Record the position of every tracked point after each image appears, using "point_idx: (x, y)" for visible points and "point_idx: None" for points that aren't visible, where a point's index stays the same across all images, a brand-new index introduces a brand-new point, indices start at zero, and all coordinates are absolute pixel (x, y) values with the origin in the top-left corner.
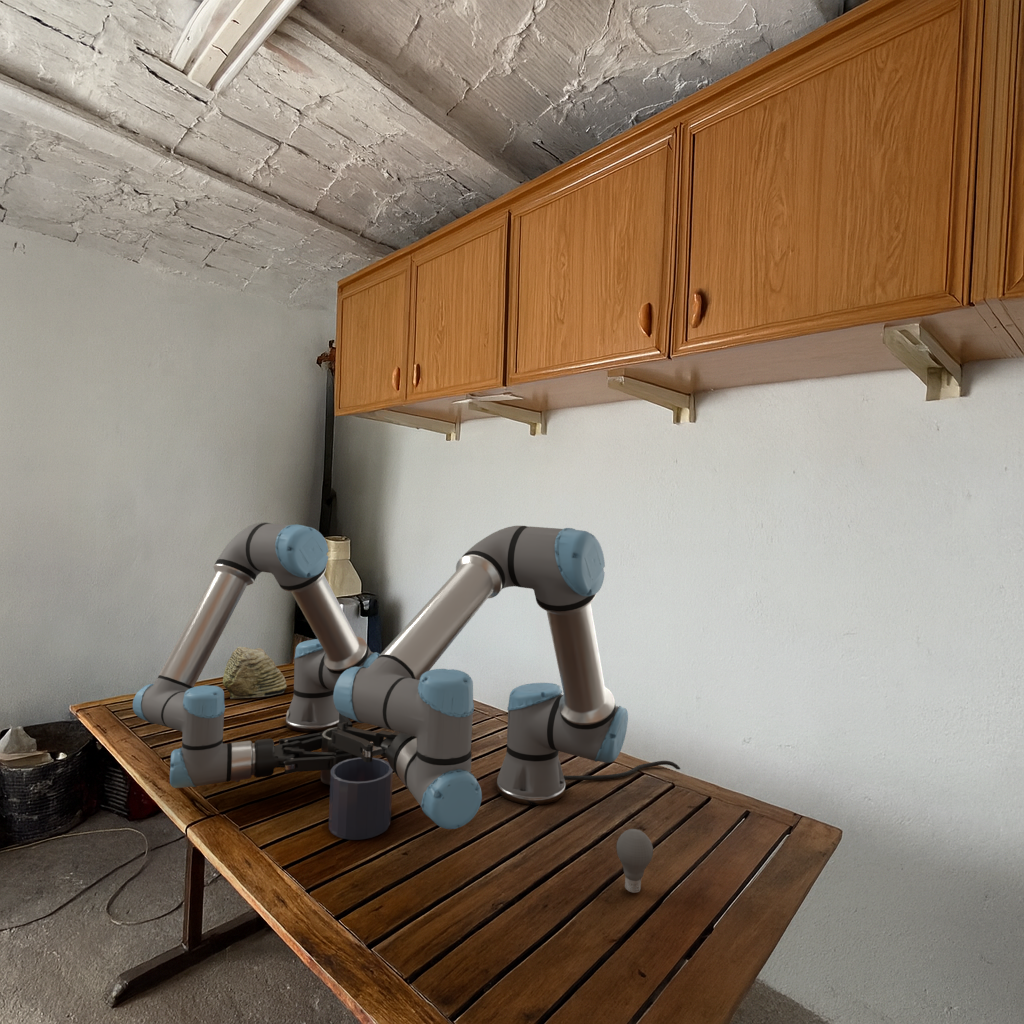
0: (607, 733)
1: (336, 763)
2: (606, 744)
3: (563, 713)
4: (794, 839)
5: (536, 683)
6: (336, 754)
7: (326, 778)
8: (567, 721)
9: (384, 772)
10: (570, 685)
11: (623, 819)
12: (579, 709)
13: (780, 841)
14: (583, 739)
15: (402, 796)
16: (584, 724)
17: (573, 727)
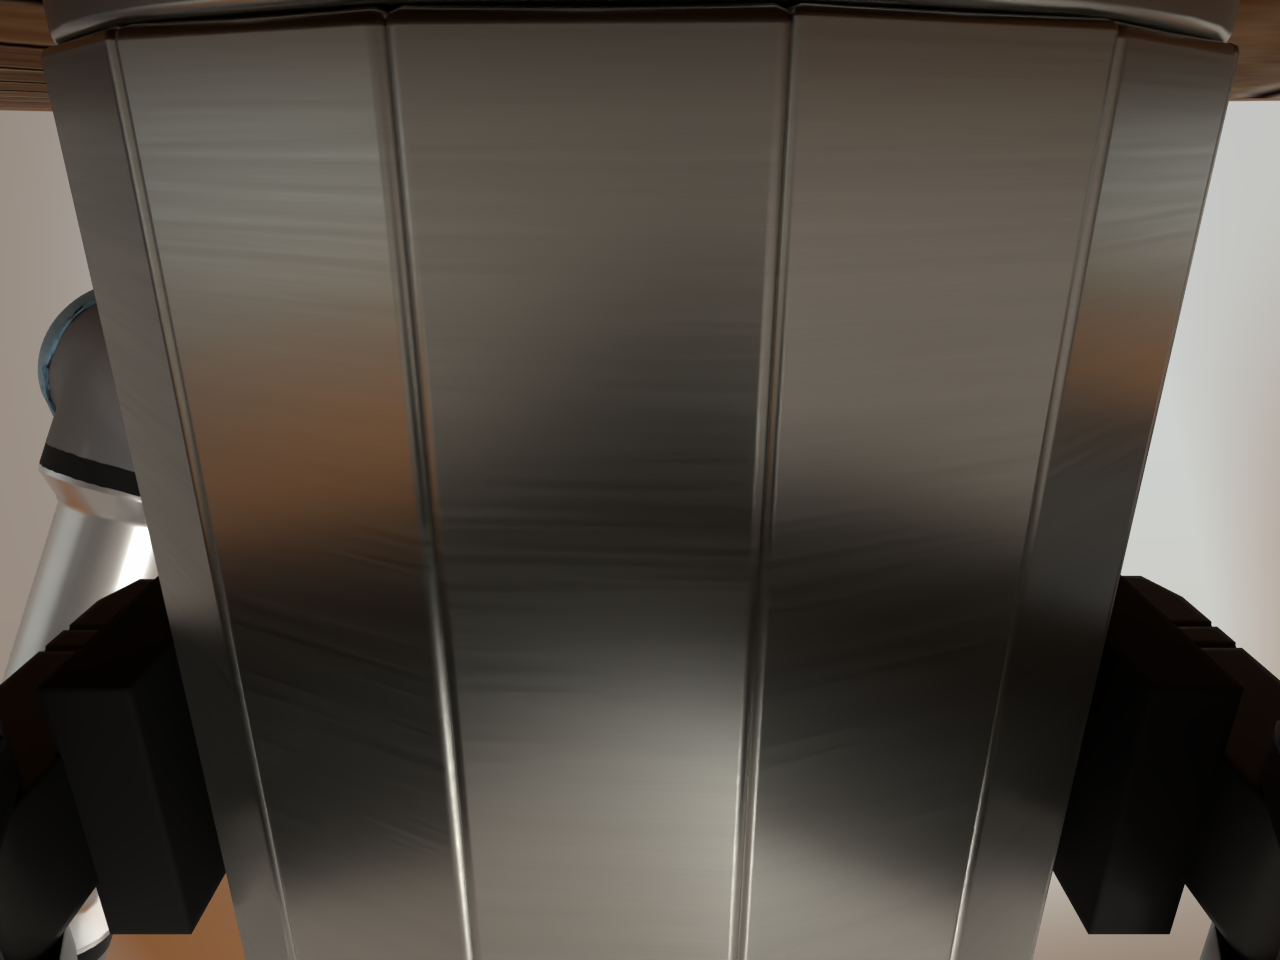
0: (54, 413)
1: (54, 687)
2: (41, 381)
3: (98, 495)
4: (26, 109)
5: None
6: (98, 876)
7: (153, 188)
8: (76, 472)
9: None
10: (35, 616)
11: (38, 97)
12: (60, 513)
13: (6, 108)
14: (63, 399)
15: (46, 20)
16: (40, 465)
17: (64, 450)
